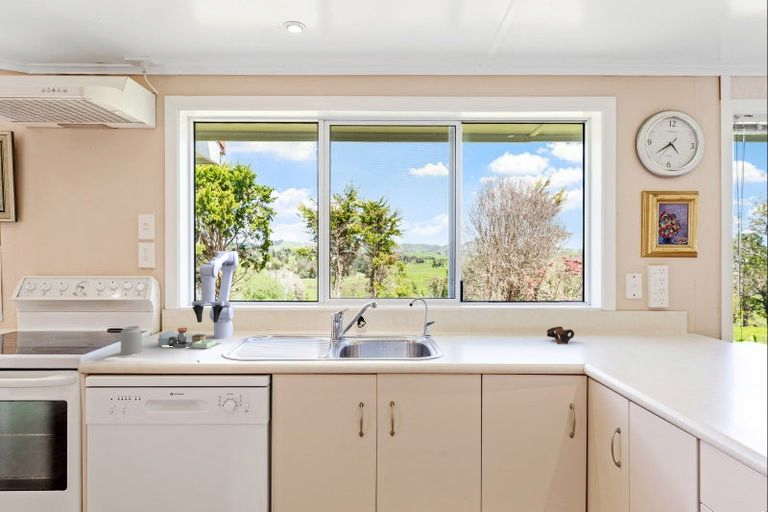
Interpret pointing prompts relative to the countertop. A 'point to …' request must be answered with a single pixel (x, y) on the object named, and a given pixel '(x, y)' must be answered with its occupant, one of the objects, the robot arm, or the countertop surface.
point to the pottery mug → (560, 334)
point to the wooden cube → (198, 337)
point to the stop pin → (182, 335)
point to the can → (131, 340)
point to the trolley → (168, 338)
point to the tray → (204, 344)
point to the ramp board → (187, 345)
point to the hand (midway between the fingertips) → (207, 322)
